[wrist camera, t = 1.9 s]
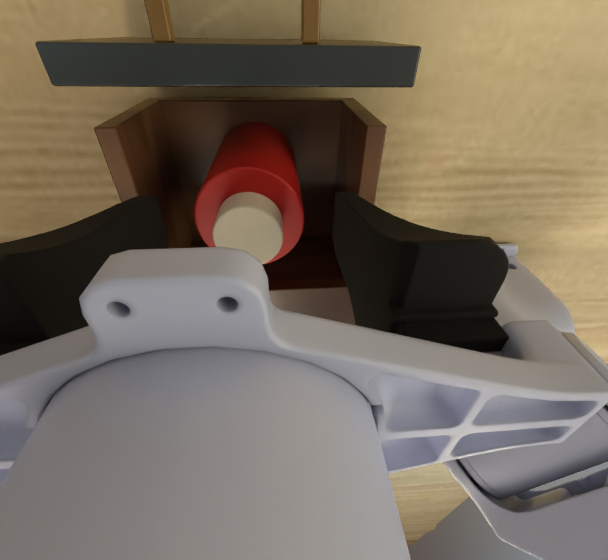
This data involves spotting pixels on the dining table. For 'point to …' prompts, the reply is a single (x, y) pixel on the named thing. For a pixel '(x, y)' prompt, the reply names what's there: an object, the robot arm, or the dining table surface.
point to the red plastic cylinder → (252, 194)
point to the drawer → (239, 118)
